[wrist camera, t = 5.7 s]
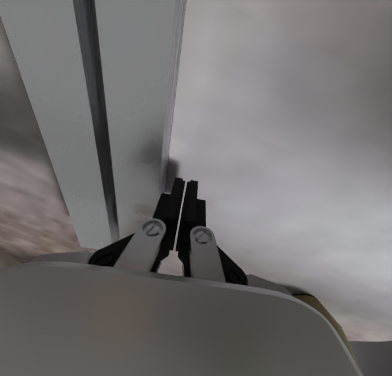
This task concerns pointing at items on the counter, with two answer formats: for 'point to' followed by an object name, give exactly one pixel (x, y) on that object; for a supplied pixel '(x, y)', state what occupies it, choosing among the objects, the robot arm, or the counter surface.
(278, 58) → the counter surface
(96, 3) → the arm
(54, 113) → the base
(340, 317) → the counter surface
